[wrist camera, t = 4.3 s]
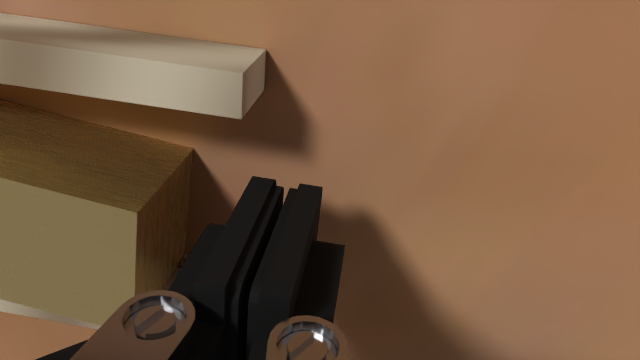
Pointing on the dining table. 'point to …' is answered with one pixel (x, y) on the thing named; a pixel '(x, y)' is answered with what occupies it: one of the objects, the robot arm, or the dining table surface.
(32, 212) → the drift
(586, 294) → the dining table surface
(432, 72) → the dining table surface
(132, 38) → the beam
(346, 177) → the dining table surface
